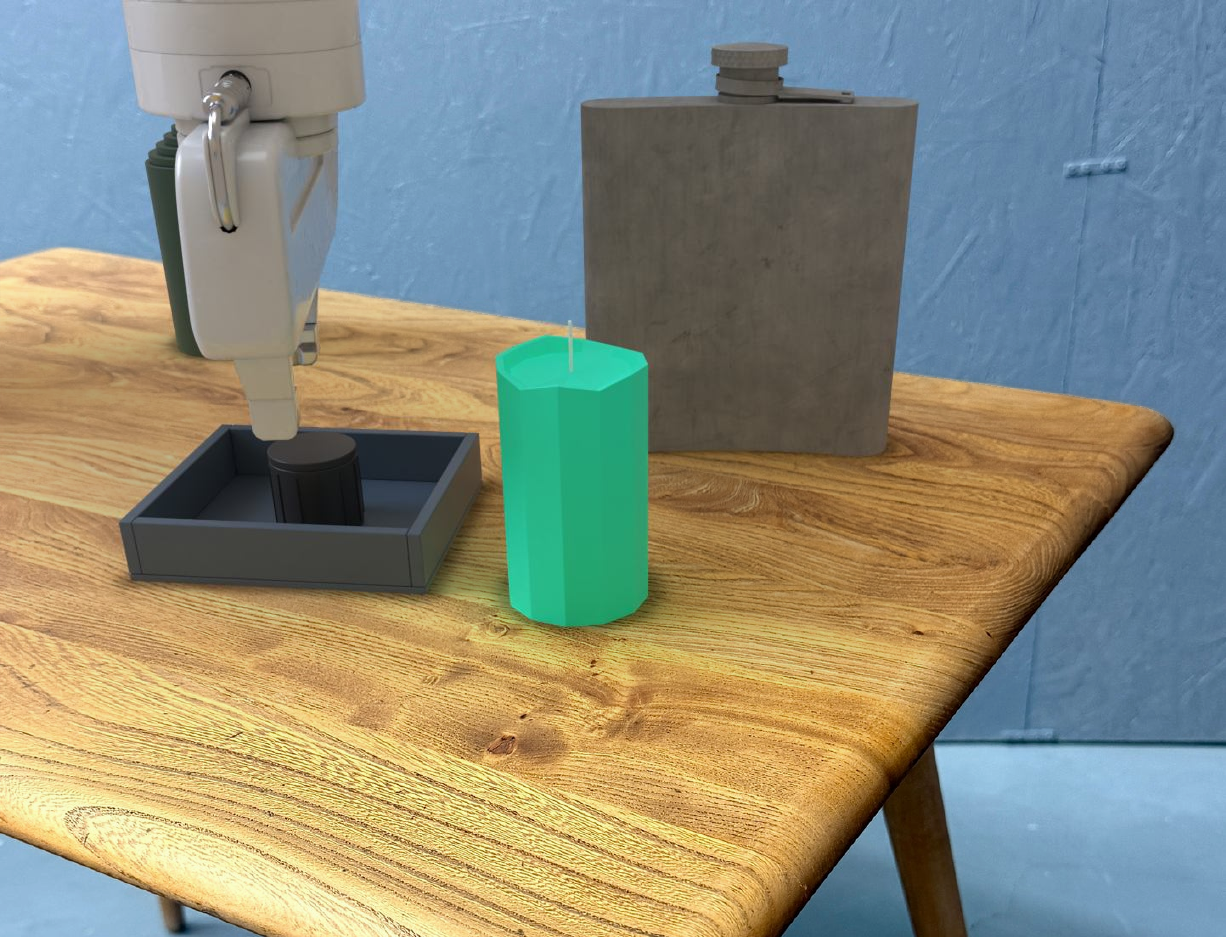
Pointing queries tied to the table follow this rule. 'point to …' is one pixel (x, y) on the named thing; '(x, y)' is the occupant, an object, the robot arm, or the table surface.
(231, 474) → the tray
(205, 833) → the table surface
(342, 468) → the cap
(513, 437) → the candle
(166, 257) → the flask
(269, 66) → the robot arm
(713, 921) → the table surface
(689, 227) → the hip flask
